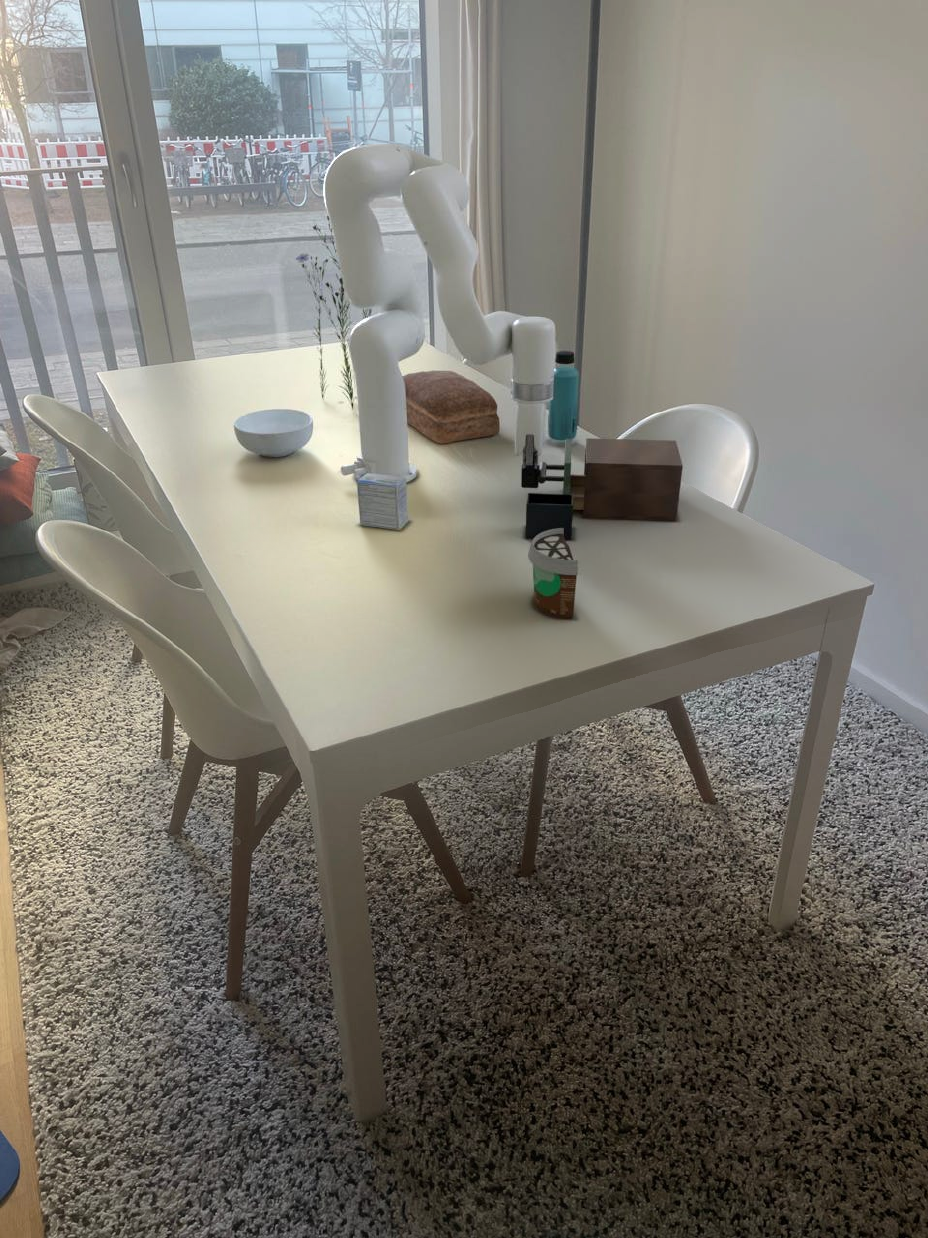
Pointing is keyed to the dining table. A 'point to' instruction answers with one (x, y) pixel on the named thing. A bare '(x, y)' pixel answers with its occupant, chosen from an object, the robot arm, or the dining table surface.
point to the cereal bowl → (274, 431)
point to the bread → (449, 406)
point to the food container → (553, 574)
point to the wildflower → (304, 257)
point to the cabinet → (632, 479)
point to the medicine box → (382, 501)
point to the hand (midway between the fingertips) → (529, 486)
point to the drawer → (566, 478)
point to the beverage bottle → (564, 399)
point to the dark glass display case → (549, 514)
